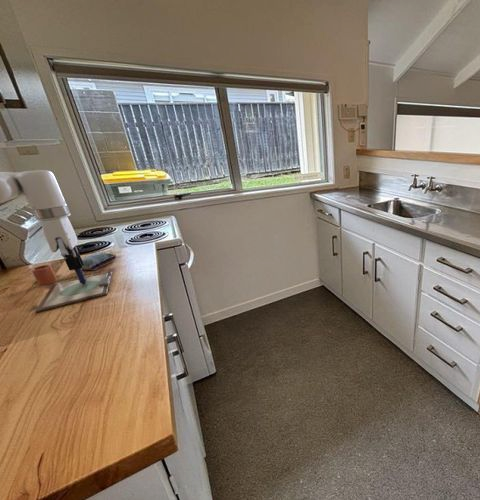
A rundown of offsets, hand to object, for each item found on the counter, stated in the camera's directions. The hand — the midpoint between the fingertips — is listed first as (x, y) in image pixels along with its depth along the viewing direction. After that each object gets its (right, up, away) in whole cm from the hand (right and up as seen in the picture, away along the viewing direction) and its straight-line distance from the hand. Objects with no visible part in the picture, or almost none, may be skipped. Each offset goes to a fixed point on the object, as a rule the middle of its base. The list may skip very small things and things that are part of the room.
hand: (76, 267), depth 92 cm
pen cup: (-15, -6, +5) cm, 17 cm away
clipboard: (+1, -7, 0) cm, 8 cm away
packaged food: (-9, -1, +17) cm, 19 cm away
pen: (0, -6, +2) cm, 6 cm away
